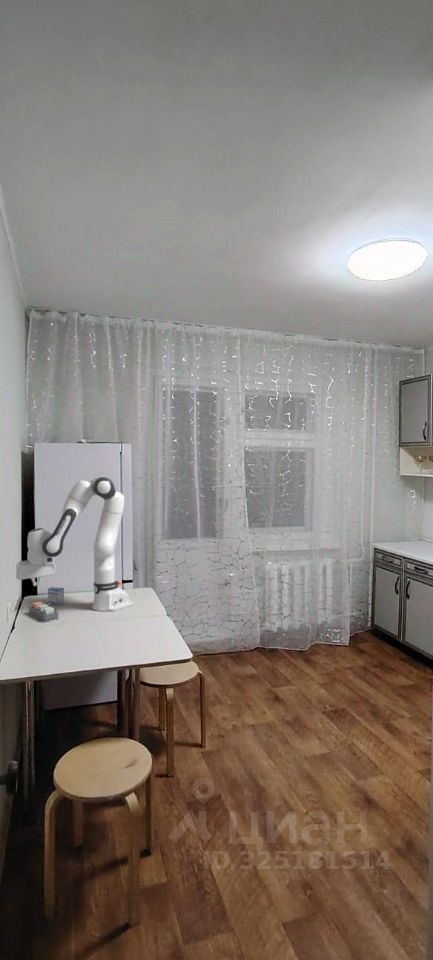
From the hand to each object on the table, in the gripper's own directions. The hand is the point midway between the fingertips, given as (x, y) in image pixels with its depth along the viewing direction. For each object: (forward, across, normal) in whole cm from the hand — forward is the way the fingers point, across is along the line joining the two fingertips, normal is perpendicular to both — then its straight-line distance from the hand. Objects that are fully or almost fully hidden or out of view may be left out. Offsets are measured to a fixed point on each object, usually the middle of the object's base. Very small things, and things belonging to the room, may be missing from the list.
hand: (36, 585), depth 261 cm
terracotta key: (+12, +1, 0) cm, 12 cm away
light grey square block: (+12, +1, -7) cm, 14 cm away
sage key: (+12, +1, -13) cm, 18 cm away
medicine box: (+15, +16, +11) cm, 24 cm away
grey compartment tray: (+15, +1, -7) cm, 16 cm away
